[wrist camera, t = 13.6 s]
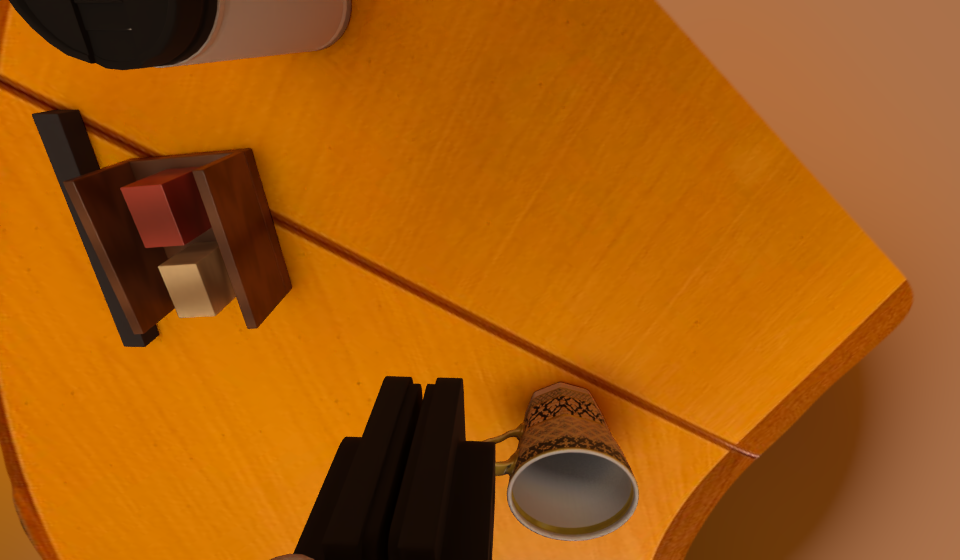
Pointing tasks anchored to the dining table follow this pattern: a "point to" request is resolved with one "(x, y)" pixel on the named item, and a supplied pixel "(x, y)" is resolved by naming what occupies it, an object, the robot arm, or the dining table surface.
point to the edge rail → (69, 161)
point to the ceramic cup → (567, 468)
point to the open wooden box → (183, 235)
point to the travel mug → (183, 29)
